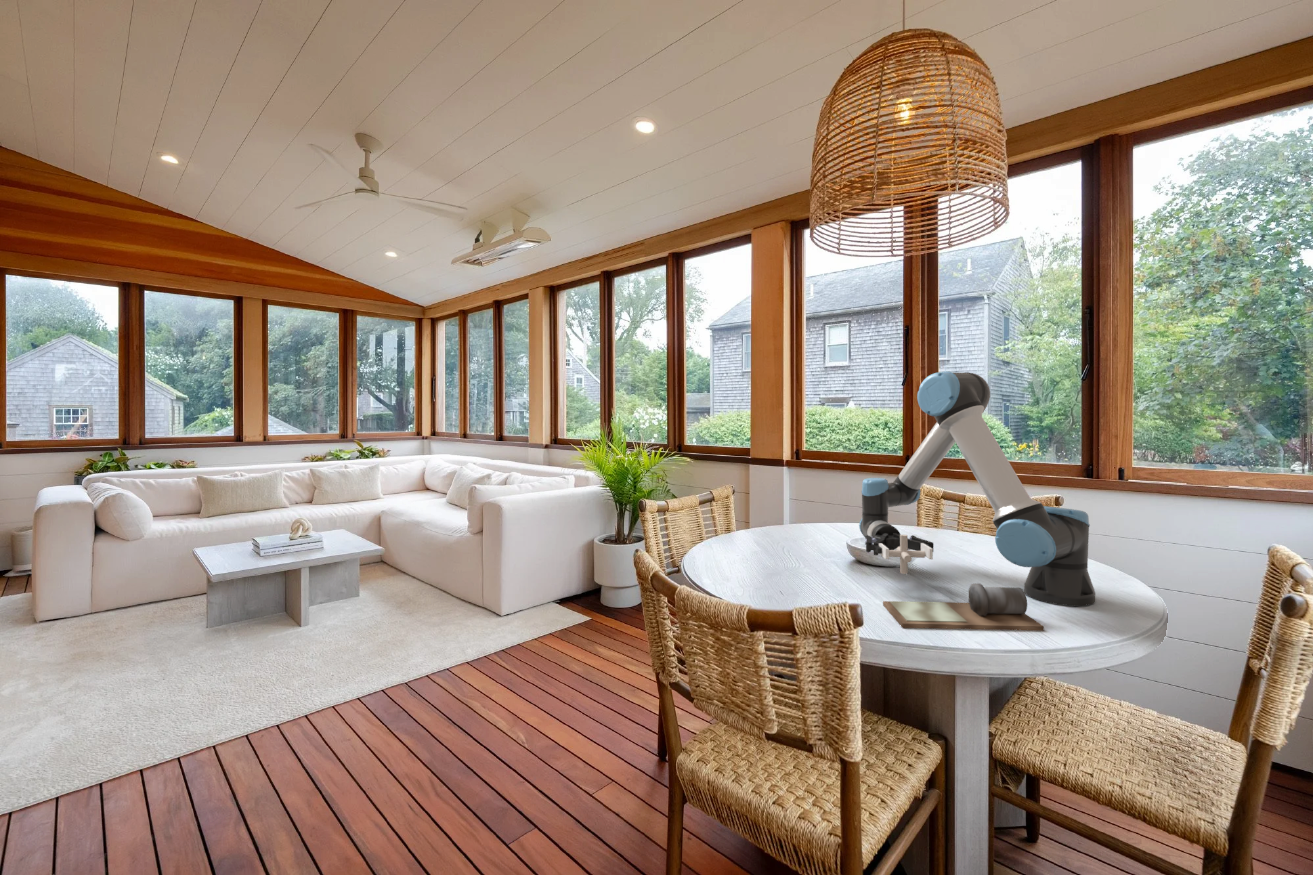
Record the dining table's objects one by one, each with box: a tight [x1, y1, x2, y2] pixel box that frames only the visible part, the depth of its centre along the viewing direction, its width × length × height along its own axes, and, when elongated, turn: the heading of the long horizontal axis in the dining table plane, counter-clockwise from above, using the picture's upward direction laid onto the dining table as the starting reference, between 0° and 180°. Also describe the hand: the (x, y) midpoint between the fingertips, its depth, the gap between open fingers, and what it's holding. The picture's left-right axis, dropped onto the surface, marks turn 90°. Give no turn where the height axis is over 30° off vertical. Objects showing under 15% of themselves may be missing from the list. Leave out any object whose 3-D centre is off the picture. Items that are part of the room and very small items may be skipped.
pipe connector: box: [889, 534, 926, 575], centre depth 155 cm, size 10×10×10 cm
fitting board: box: [882, 582, 1045, 632], centre depth 138 cm, size 30×15×8 cm, turn 85°
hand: (909, 554), depth 151 cm, fingers closed on pipe connector, 10 cm apart
